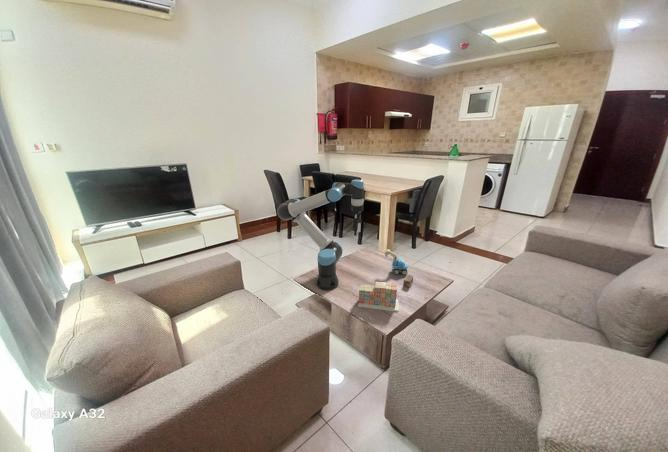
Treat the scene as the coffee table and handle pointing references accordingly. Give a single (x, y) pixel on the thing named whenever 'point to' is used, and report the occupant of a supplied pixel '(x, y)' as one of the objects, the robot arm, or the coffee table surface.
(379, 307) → the sage board
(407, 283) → the walnut brick
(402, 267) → the toy excavator
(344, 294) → the coffee table surface
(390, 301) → the stack of blocks
